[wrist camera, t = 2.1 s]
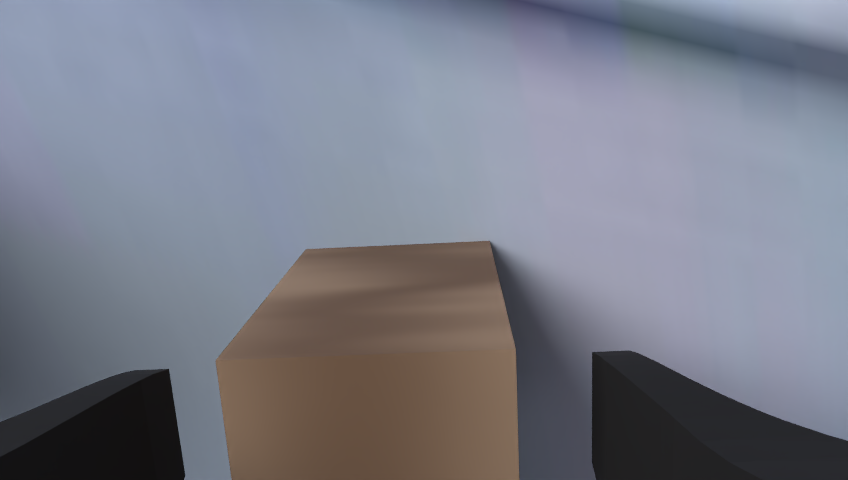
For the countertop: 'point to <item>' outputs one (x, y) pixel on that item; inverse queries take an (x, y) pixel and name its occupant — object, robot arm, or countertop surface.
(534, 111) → the countertop surface
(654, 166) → the countertop surface
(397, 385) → the walnut plug
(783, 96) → the countertop surface
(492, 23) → the countertop surface
